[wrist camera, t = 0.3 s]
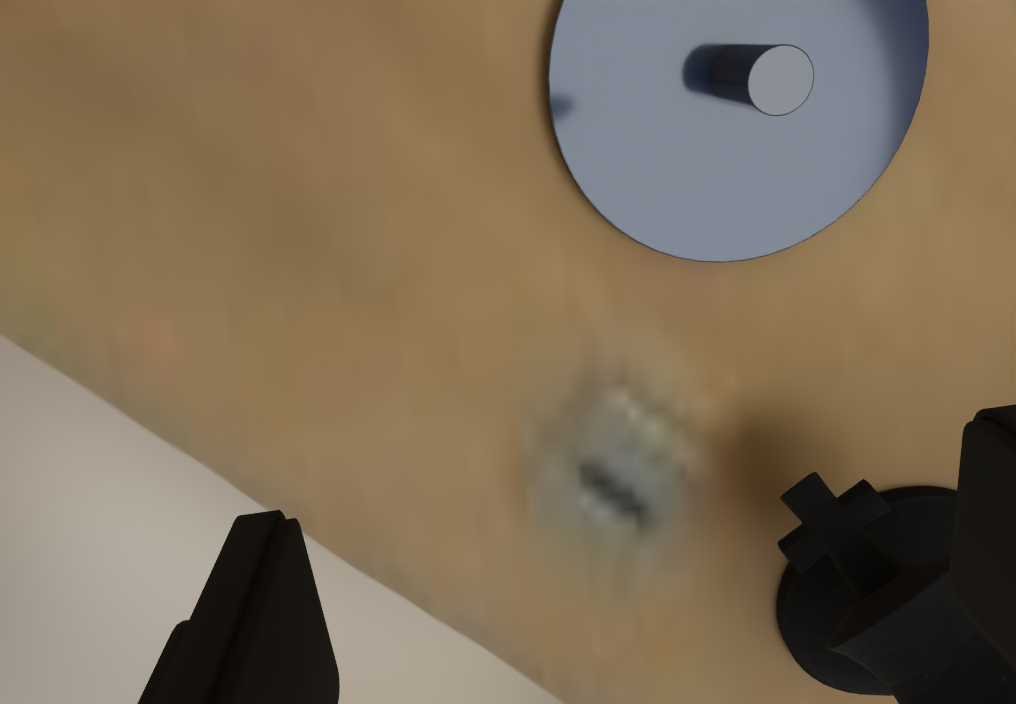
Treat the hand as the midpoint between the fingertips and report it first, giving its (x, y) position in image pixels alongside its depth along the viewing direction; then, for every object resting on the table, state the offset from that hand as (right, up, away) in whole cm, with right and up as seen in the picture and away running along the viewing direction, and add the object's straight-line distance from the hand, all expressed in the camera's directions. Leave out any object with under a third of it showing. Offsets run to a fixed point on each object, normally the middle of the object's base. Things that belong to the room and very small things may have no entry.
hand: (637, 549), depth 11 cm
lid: (+9, +16, +27) cm, 32 cm away
